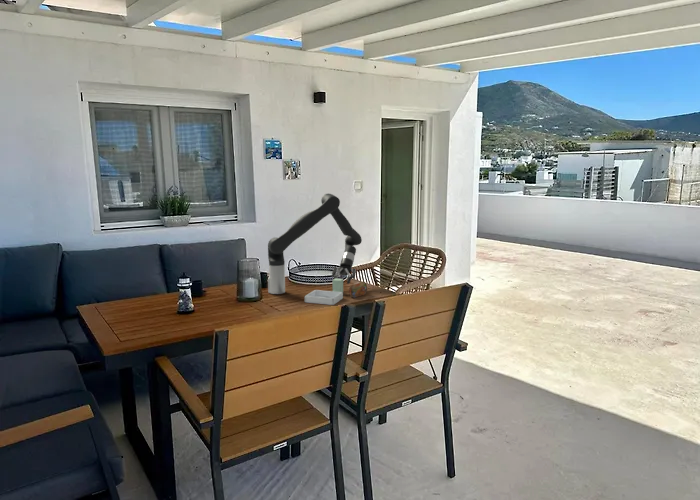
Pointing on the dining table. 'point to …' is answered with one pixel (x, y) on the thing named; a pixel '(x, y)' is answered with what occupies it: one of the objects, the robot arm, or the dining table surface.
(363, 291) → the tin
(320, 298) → the tray
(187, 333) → the dining table surface
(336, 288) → the green block
